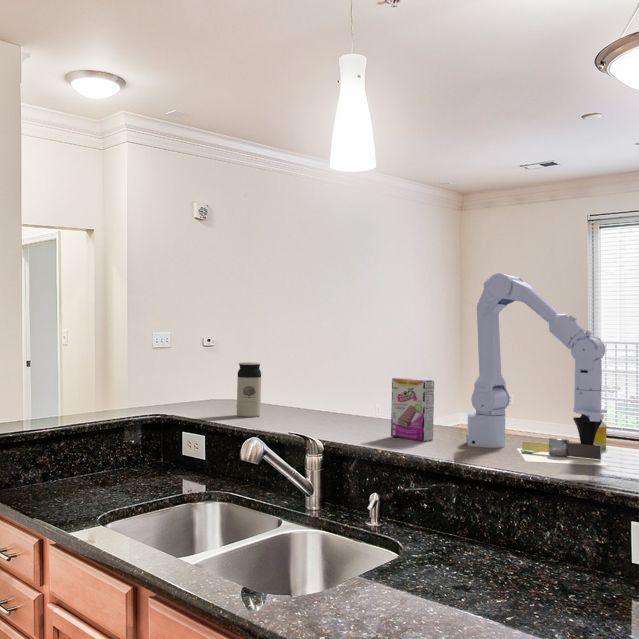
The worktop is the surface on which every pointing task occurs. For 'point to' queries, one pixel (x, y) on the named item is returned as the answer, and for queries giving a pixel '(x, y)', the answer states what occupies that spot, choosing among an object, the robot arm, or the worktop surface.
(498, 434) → the robot arm
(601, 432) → the supplement bottle
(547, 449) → the dial pointer
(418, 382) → the candy bar box
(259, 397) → the travel mug
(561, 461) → the board
